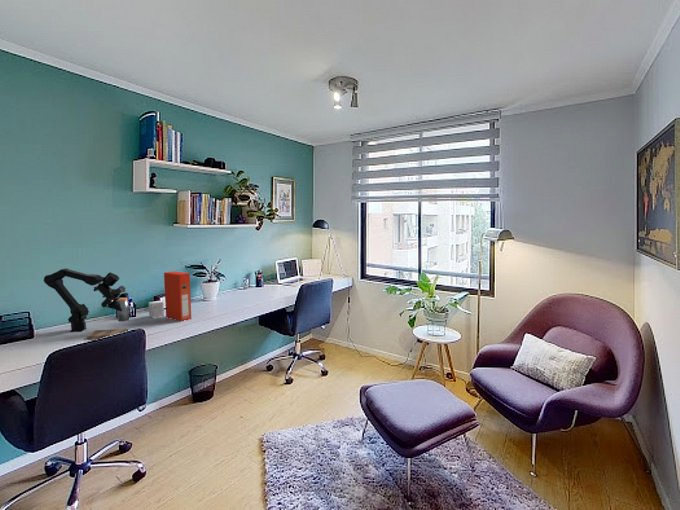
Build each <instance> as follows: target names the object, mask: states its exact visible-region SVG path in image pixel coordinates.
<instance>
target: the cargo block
mask: <svg viewBox="0 0 680 510" xmlns="http://www.w3.org/2000/svg"><path fill="white" fill-rule="evenodd" d="M127 300H128V297H127V298H119V299H118V302H125V301H127ZM128 301H129V300H128Z"/></svg>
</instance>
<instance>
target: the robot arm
mask: <svg viewBox="0 0 680 510" xmlns="http://www.w3.org/2000/svg"><path fill="white" fill-rule="evenodd" d="M65 277H68V278H70V279H74V280H78V281H82V282H84V283H85V284H87V285H88V286H91V287H92V286H94V288H93V292H98V291H99V293H101V295H102V298H103V299H104V298H105V299H104V300H103V301H102V302H101V304H100V306H101V307H102V308H109V309H112V310H116V311H117V310H118V311H122V309H121V307H120V306H119V305H118V304H117V301H118V299H119V298H127V299H128V296H130V295H129V293H128V292H126V287H125V286H124V285H120V286H119V287H118V288H116V289H115V288H111V287H113V286H114V285H116V283H117V282H118V281H119V280H120V277H119V275H117V274H115V273H112V271H110V272H108V273H107V274H106V275H105V276H102V275H100V274H92V273H91V274H89V273H84V272H80V271H77V270H73V269H69V268H61V269H59V270H58V271H55V272H54V273H51V274H47V275H45V276H44V278H43V283H44V284H45V285H47V286H48V288H52V289H53V290H55V291H56V293H57V294H58V295H59V296H60V298H61V299H62V300H63V301H64V303H65V304H66V305H67V307H68V308H69V311H70V316H69V317H68V319H67V320H68V323H70V330H69V332H70V333H73V331H77V332H83V331H84V329H85V330H86V329H87V322H86V321H85V320H86V319H87V317H88V315H89V313H90V310H89V308H88V307H87V306H86V304H85V303H82V304H81V303H79V302H78V301H77V300H76V299H75V297H74V296H73V295H72V293H71V292H70V291H69V289H68V288H67V287H66V286H65V285H64V280H63V279H64V278H65Z"/></svg>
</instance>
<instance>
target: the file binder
mask: <svg viewBox="0 0 680 510" xmlns="http://www.w3.org/2000/svg"><path fill="white" fill-rule="evenodd" d="M190 278H191V275H190V272H189V273H188V272H182V271H175V270H174V271H173V270H172V271H167V272H163V279H164V280H163V281H164V299H165V300H164V302H165V318H166V317H168V318H167V319H169V318H172V319H171V320H173V319H176V320H175V321H177V320H180V321H179V322H181V321H182V322H185V321H184V320H186V321H189V320H188V319H190V320H192V305H191V304H192V301H191V279H190Z"/></svg>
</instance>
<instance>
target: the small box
mask: <svg viewBox="0 0 680 510" xmlns="http://www.w3.org/2000/svg"><path fill="white" fill-rule="evenodd" d="M164 309H165V308H164V301H162V300H156V301H149V302H148V315H149V316H150V317H149V316H148V317H149V318H151V317H152V318H151V319H155V318H154V317H157V318H160V317H159V316H162V317H164V316H165V310H164Z"/></svg>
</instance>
